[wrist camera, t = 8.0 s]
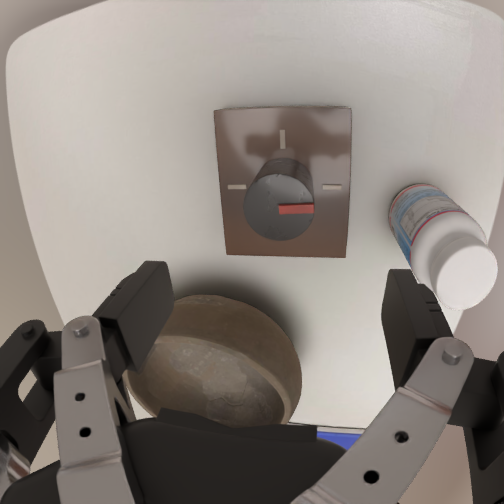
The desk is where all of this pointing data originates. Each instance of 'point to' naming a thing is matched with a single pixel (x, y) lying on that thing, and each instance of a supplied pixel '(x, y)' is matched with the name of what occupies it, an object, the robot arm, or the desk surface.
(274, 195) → the knob
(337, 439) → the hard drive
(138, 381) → the bowl
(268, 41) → the desk surface
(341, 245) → the panel
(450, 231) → the pill bottle
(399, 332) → the robot arm
